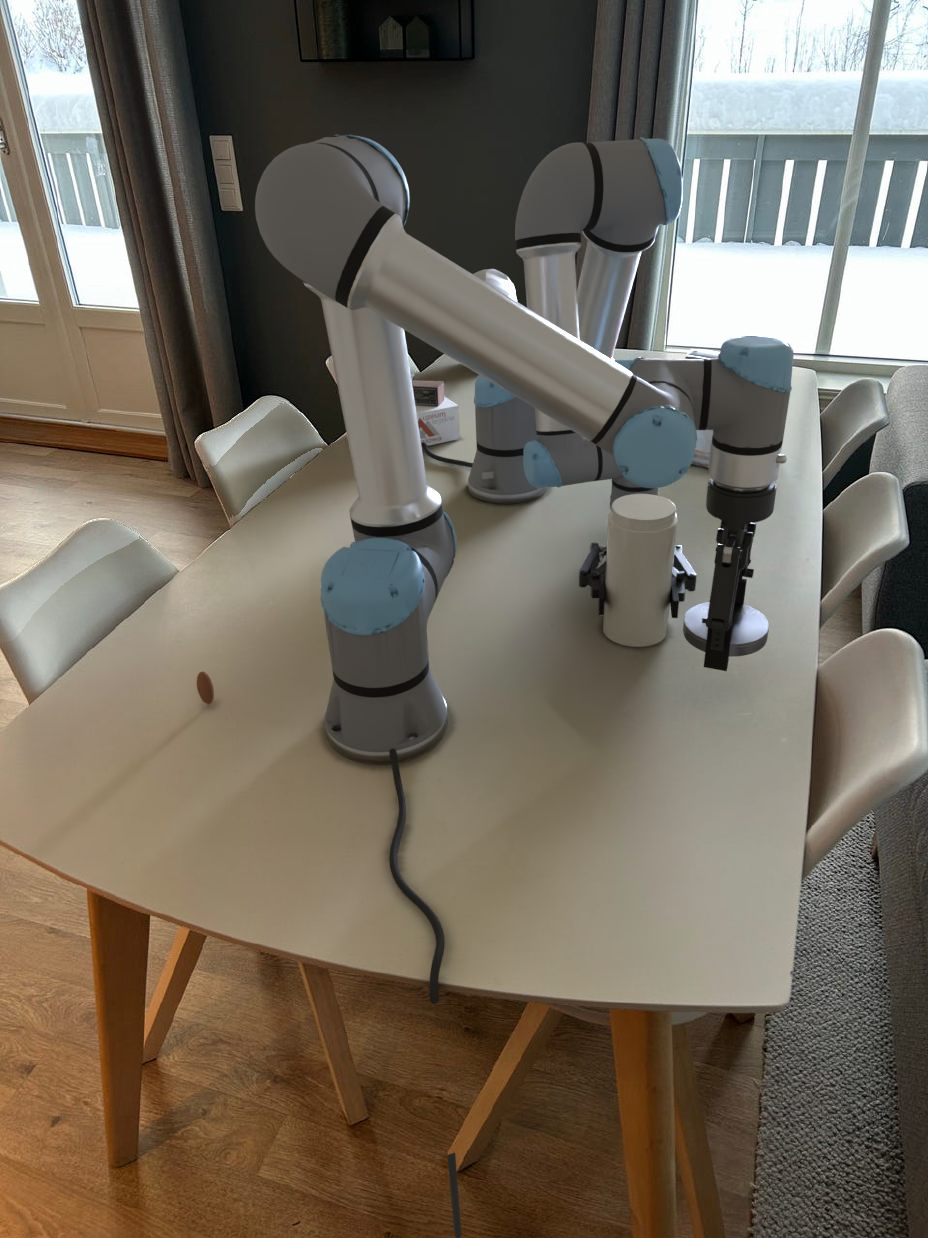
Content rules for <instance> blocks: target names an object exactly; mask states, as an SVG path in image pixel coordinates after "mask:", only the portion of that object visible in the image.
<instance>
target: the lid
mask: <svg viewBox="0 0 928 1238" xmlns="http://www.w3.org/2000/svg"><path fill="white" fill-rule="evenodd" d="M709 603H710V601H705V602H701V603H698V604H696V605H694V606H692V607H690V608H689V609H688V610H687V611H686V612H685V614H684V618H683V625H682V626H683V627H682V634H683V637H684V638H685V641H687V642H688V643H689V644H690V645H691V646H692V647H694V648H696V649H697V650H699V651H701V652H704V653H705V650H706V640H707V631H708V628H707V627H706V624H703V623H702V618H705V619H707V617H708V610H709ZM732 622H733V627H732V635H731V643H730V652H729V658H730V657H731V658H733V657H736V658H737V657H744V656H749V655H752V654H754V653H757V652H759V651H760V650H761V649H763V648H764V647H765V646H766V644H767V642H768V638H769V630H770V623H769V621H768V619H767V617H766V615H764V614H763V613H762V612H761V611H759V610H758V609H756V608H754V607H752V606H749V605H747V604H745V603H744V604H741V603H736V602H735V603H734V609H733V614H732Z"/></svg>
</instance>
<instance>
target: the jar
mask: <svg viewBox="0 0 928 1238" xmlns="http://www.w3.org/2000/svg"><path fill="white" fill-rule="evenodd" d="M678 521H679V519H678V516H677V508H676V505H675V503H674V502H673V501H672V500H670V499H669V498H667V497H664V496H661V495H658V496H657V495H651V494H631V495H626V496H622V497H620V498H618V499H616V500H615V501H614V502H613V503H612V511H611V510H610V511H609V512H608V516H607V532H606V547H607V552H606V556H605V561H606V572H605V605H604V615H602V632H603V634H604V635H605V636H606V638H608V639H609V640H610V641H612V642H614V643H616V644H618V645H621V646H626V647H631V648H632V647H633V648H644V647H650V646H654V645H656V644H659V643H661V642H662V641H664V639H665V638H666V637H667V634H668V629H669V628H668V626H669V619H670V608H671V607H670V597H671V586H672V575H673V564H674V554H675V545H676V542H677V531H678Z"/></svg>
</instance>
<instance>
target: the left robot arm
mask: <svg viewBox="0 0 928 1238" xmlns="http://www.w3.org/2000/svg"><path fill="white" fill-rule="evenodd" d="M410 200H411V199H410V189H409V184H408V181H407V177H406V175H405V173H404V171H403V169H402V167H401V165H400V164H399V162H398V161H397V159H396V158H395V156H393V154H392V153H391V151H389V150H387V149H386V147H384V146H383V145H381V144H380V143H378V142H377V141H374V140H372V139H371V138H367V137H364V136H359V135H353V134H333V135H331V136H325V137H322V138H320V139H317V140H314V141H310V142H307V143H301V144H297V145H294V146H292V147H289V148H287V149H285V150H284V151H282V152H280V153H279V154H278V155H276V156H275V157H274V158H273V159H272V161H270V163H269V164H268V165H266V168H265V169H264V171H263V173H262V174H261V176H260V179H259V182H258V184H257V187H256V193H255V198H254V211H255V213H254V214H255V220H256V223H257V228H258V231H259V234H260V236H261V238H262V240H263V242H264V244H265V246H266V248H267V249H268V251H269V252H270V253H271V255H272V256H273V258H274V259H276V260H277V261H278V262H279V264H281V265H282V267H284V268H285V269H286V270H288V271H289V272H290V273H291V274H292V275H294V276H296V277H297V278H298V279H300V281H302V283H303V285H304V286H305V287H306V288H307V289H308V290H309V291H311V292H312V293H314V294H315V295H316V296H318V297H319V299H320V302H321V306H322V307H321V308H322V311H323V312H322V313H323V317H324V322H325V327H326V333H327V338H328V343H329V348H330V349H329V350H330V354H331V359H332V365H333V370H334V374H335V379H336V385H337V391H338V396H339V401H340V405H341V411H342V415H343V422H344V426H345V432H346V438H347V442H348V443H347V444H348V446H349V452H350V457H351V463H352V468H353V473H354V478H355V483H356V484H355V485H356V488H357V494H358V497H357V498H356V499H355V500H354V502H353V503H352V504H351V506H350V508H349V518H350V523H351V528H352V534H353V538H354V539H353V540H354V542H351V543H350V546H349V547H347V546H342V547H340V548H339V549H338V550H337V551H335V552H334V553H333V554H331V556H330V557H329V558H328V559H327V560H326V562H325V563H324V566H323V568H322V569H321V570H322V571H321V576H320V603H321V607H322V611H323V617H324V618H323V619H324V623H325V630H326V631H325V632H326V636H327V637H326V638H327V643H328V650H329V651H328V652H329V657H330V663H331V664H330V665H331V671H332V677H333V681H332V685H331V689H330V692H329V697H328V701H327V705H326V710H325V713H324V720H323V721H324V727H325V728H324V729H325V733H326V738H327V741H328V743H329V745H330V746H331V748H333V749H334V750H335V751H336V752H337V753H338V754H339V755H341V756H342V757H345V758H347V759H349V760H352V761H355V762H358V763H363V764H368V765H390V766H391V770H392V777H393V783H394V787H395V793H396V796H397V797H396V798H397V804H398V817H397V823H396V827H395V831H394V834H393V836H392V837H393V838H392V841H391V843H390V849H389V869H390V873H391V876H392V878H393V881H394V882H395V884H396V886H397V888H398V889H399V890H400V891H401V893H403V895H405V896H406V897H407V899H409V900H410V901H411V902H412V903H413V904H414V906H416V907H417V908H418V909H419V910H420V911H421V912H422V913H423V914H424V916H425V917H426V919H427V920H428V921H429V923H430V925H431V927H432V930H433V933H434V937H435V950H434V953H433V957H432V961H431V967H430V972H429V1002H430V1003H431V1004H433V1005H436V1004H438V1003H439V1002H440V993H439V992H440V990H439V985H440V984H439V982H440V981H439V979H440V973H441V966H442V961H443V958H444V954H445V953H444V952H445V946H446V945H445V944H446V943H445V934H444V929H443V926H442V924H441V921H440V920H439V918H438V916H437V915H436V914H435V912H434V911H433V909H431V907H430V906H429V905H428V904H427V902H425V901H424V900H423V898H421V897H420V896H419V895H418V894H417V893H415V891H414V890H412V889H411V887H410V886H409V885H408V884H407V882H406V881H405V880H404V877H403V876H402V874H401V872H400V871H401V870H400V869H399V864H398V853H399V847H400V843H401V840H402V836H403V834H404V829H405V825H406V819H407V803H406V802H407V801H406V795H405V791H404V787H403V782H402V777H401V772H400V771H401V770H400V765H399V763H402V762H406V761H409V760H412V759H415V758H417V757H420V756H422V755H424V754H426V753H427V752H429V751H430V750H432V749H433V748H434V747H436V746H437V745H438V743H440V742H441V740H442V739H443V738H444V736H445V734H446V732H447V729H448V725H449V720H448V719H449V717H448V705H447V703H446V699H445V697H444V696H443V694H442V691H441V689H440V688H439V686H438V683H437V682H436V679H435V678H434V675H433V673H432V671H431V669H430V659H429V657H430V656H429V655H430V654H429V643H428V621H429V617H430V615H431V613H432V610H433V608H434V605H435V603H436V601H437V599H438V596H439V595H440V592H441V589H442V587H443V585H444V582H445V580H446V579H447V577H448V575H449V574H450V572H451V570H452V569H453V565H454V562H455V558H456V553H457V536H456V535H457V534H456V529H455V526H454V524H453V522H452V520H451V518H450V516H449V514H447V512H446V511H445V510H444V507H443V500H442V496H441V494H440V493H439V492H438V491H437V490H435V489H434V488H432V487H431V486H430V485H428V481H427V474H426V467H425V460H424V454H423V447H421V440H420V434H419V427H418V420H417V413H416V407H415V400H414V393H413V387H412V380H413V379H412V374H411V368H410V360H409V354H408V346H407V340H406V334H405V331H406V332H408V333H409V334H411V335H413V336H414V337H415V338H418V339H419V340H421V341H422V342H424V343H426V344H428V345H429V346H431V347H432V348H434V349H436V350H437V351H439V352H440V353H442V354H444V355H446V356H447V357H449V358H450V359H452V360H454V361H456V362H458V363H459V364H460V365H462V366H464V367H466V368H468V369H469V370H471V371H472V372H474V373H475V374H478V375H481V376H482V377H484V378H486V379H487V380H489V381H491V382H492V383H494V384H496V385H497V386H499V387H501V388H502V389H504V390H506V391H507V392H509V393H511V394H512V395H514V396H516V397H517V398H519V399H521V400H522V401H524V402H526V403H527V404H529V405H531V406H532V407H534V408H536V409H537V410H539V411H541V412H542V413H544V414H546V415H547V416H549V417H551V418H552V419H554V420H556V421H557V422H559V423H561V424H562V425H564V426H566V427H567V428H569V429H571V430H572V431H574V432H576V433H577V434H579V435H581V436H582V437H584V438H586V439H587V440H589V441H591V442H592V443H594V444H596V445H597V446H599V447H600V448H602V449H603V450H605V451H606V452H608V453H610V454H611V455H613V456H614V459H615V462H616V464H617V467H618V469H619V471H620V472H621V473H622V475H623V476H624V477H625V478H626V479H627V480H628V481H630V482H631V483H633V484H635V485H637V486H640V487H644V488H658V489H660V488H661V489H662V488H664V487H668V486H669V485H672V484H675V483H676V482H677V481H679V480H680V479H681V478H683V476H684V475H686V473H688V471H689V469H690V467H691V466H692V464H691V463H692V461H693V457H694V452H695V447H696V441H697V432H696V430H713V436H712V441H711V450H710V460H709V468H708V469H707V470H708V471H707V473H708V474H707V475H708V476H709V479H708V480H707V488H706V497H705V509H706V511H707V512H708V514H710V515H711V516H712V517H713V518H715V519H718V520H720V527H719V528H717V530H716V537H715V543H716V547H715V556H714V568H713V574H712V582H711V583H712V584H711V588H710V589H711V590H710V597H709V602H710V603H709V610H708V617H707V619H705V618H702V623H703V624H706V627H707V628H708V631H707V640H706V650H705V652H704V659H703V668H706V669H711V670H717V671H722V672H727V671H728V668H729V667H728V666H729V661H730V660H729V658H730V657H729V652H730V643H731V635H732V627H733V622H732V614H733V609H734V603H735V602H736V603H741V604H744V605H745V598H746V590H747V589H746V588H747V582H748V579H747V578H750V579H753V578H754V571H755V569H754V568H749V567H750V564H751V562H752V559H751V556H752V555H751V554H752V547H753V542H754V538H755V534H756V530H757V523H759V522H760V523H761V522H763V521H765V520H767V519H768V518H770V517H771V516H772V514H773V513H774V509H775V503H776V501H775V500H776V495H777V490H778V489H777V488H778V484H777V483H776V481H777V480H778V477H779V472H780V464H785V463H787V459H788V457H787V455H786V454H784V453H783V454H781V452H782V448H783V442H784V437H785V431H786V430H785V429H786V424H787V417H788V410H789V404H790V397H791V392H792V389H793V386H792V377H793V367H794V353H795V352H794V349H793V348H792V347H791V344H790V343H788V342H787V341H785V340H784V339H782V338H779V337H777V336H770V335H764V334H763V335H761V334H748V335H745V336H733V337H730V338H727V340H725V341H724V342H723V343H722V344H721V346H720V351H719V352H720V353H719V355H718V358H711V359H685V358H646V357H643V356H638V357H635V358H621V359H620V358H619V359H614V361H612V360H610V359H609V358H607V357H606V356H604V355H602V354H601V353H599V352H597V351H596V350H594V349H593V348H591V347H589V346H588V345H586V344H585V343H583V342H581V341H580V340H578V339H576V338H575V337H573V336H572V335H570V334H568V333H567V332H565V331H563V330H562V329H560V328H559V327H557V326H555V325H554V324H552V323H551V322H549V321H547V320H546V319H544V318H542V317H541V316H539V315H538V314H536V313H534V312H533V311H531V310H529V309H528V308H527V306H525V305H523V304H522V303H520V302H518V300H517V301H515V300H513V299H512V298H510V297H508V296H507V295H505V294H504V293H502V292H500V291H499V290H497V289H495V288H494V287H492V286H491V285H489V284H487V283H486V282H484V281H483V280H481V279H479V278H478V277H476V276H474V275H473V274H474V273H471V272H470V271H468V270H466V269H465V268H464V267H461V266H459V265H458V264H457V263H455V262H454V261H452V260H450V259H448V258H447V257H445V256H444V255H442V254H441V253H439V252H437V251H436V250H434V249H433V248H431V247H429V246H428V245H426V244H424V243H423V242H421V241H419V240H418V239H416V238H414V237H413V236H412V235H410V234H408V233H407V232H406V230H405V229H404V227H405V225H406V223H407V220H408V217H409V210H410ZM446 1157H447V1166H448V1178H449V1179H448V1180H449V1190H450V1200H451V1201H450V1202H451V1212H452V1223H453V1233H454V1234H453V1235H454V1237H455V1238H461V1237H462V1236H463V1231H462V1220H461V1209H460V1197H459V1196H460V1195H459V1185H458V1183H459V1181H458V1172H457V1169H458V1168H457V1158H456V1152H452V1153H449V1154H447V1156H446Z"/></svg>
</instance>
